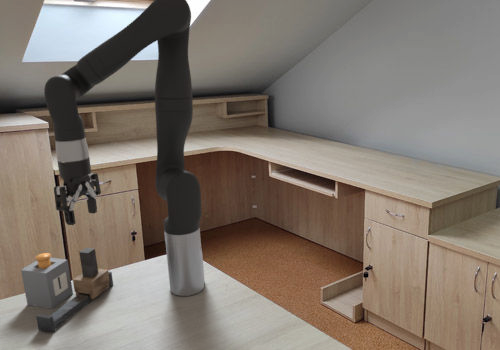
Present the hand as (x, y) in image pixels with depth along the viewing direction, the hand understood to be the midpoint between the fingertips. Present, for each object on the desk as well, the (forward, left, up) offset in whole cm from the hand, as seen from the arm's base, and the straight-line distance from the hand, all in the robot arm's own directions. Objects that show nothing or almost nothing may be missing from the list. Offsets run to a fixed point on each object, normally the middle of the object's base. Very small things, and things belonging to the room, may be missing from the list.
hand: (82, 218), depth 122 cm
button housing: (+5, -10, -22) cm, 24 cm away
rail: (+6, 0, -22) cm, 23 cm away
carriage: (0, 0, -22) cm, 22 cm away
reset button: (+5, -10, -15) cm, 19 cm away
